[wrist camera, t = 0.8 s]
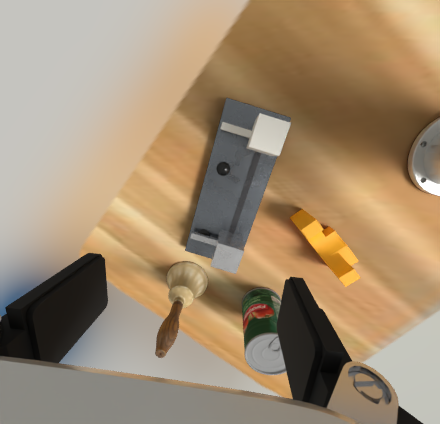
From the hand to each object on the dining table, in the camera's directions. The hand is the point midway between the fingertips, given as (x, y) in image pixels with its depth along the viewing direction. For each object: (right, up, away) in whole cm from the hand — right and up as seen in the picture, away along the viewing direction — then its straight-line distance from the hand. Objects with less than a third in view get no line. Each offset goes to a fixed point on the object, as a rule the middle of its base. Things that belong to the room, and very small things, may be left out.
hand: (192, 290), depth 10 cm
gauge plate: (+4, +8, +25) cm, 26 cm away
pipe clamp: (+19, 0, +26) cm, 33 cm away
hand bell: (-5, -10, +30) cm, 32 cm away
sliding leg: (+6, +16, +20) cm, 26 cm away
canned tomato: (+10, -14, +31) cm, 35 cm away
